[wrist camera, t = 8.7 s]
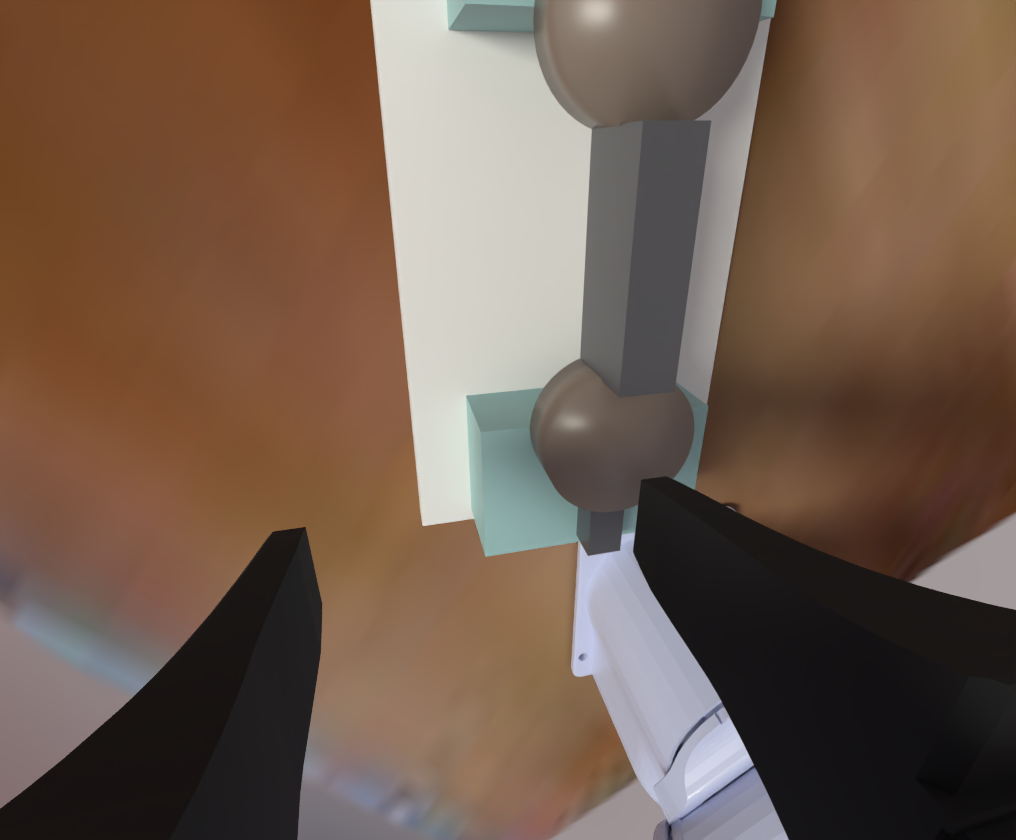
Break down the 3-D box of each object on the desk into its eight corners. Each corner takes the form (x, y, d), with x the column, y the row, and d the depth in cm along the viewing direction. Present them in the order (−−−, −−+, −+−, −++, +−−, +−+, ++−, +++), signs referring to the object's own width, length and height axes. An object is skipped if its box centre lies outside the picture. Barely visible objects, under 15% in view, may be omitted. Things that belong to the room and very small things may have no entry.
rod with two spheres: (651, 522, 21) (693, 576, 18) (528, 542, 20) (553, 602, 17) (750, -232, 12) (859, -342, 9) (535, -263, 11) (589, -396, 8)
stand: (682, 474, 25) (732, 526, 22) (420, 511, 23) (430, 576, 19) (783, -187, 15) (904, -287, 12) (346, -243, 13) (338, -388, 10)
